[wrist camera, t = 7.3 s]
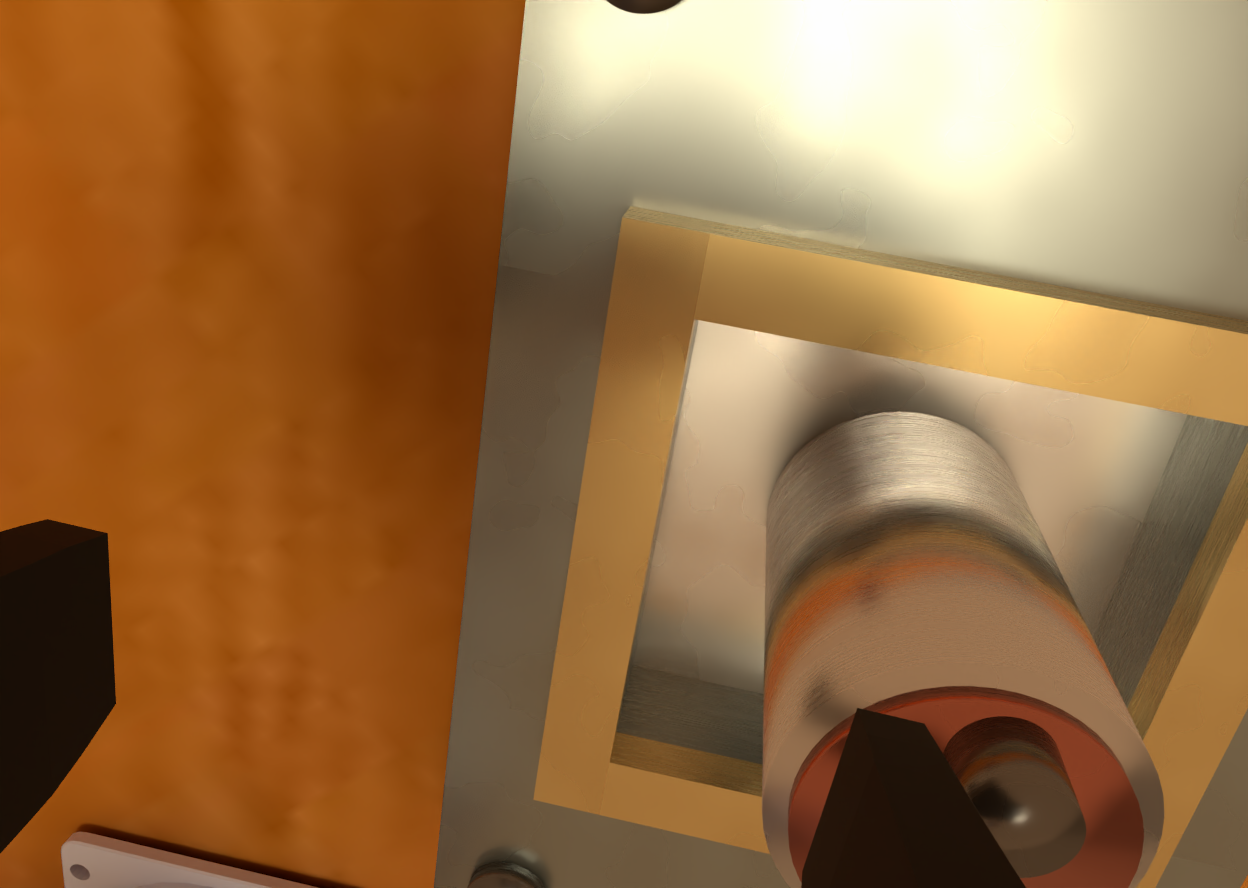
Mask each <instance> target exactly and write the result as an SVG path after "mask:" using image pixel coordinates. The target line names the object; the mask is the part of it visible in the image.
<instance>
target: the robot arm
mask: <svg viewBox="0 0 1248 888" xmlns="http://www.w3.org/2000/svg"><path fill="white" fill-rule="evenodd" d="M115 704H116V696H115V675H114V655H113V635H112V614H111V594H110V574H109V553H108V533H104V532H100V531H95V530H91V529H87V528H83V527H78V526H74V525H70V524H65V523H61V522H57V521H52V520H48V519H47V520H43V521H39V522H35V523H31V524H27V525H23V526H19V527H16V528H12V529H9V530H5V531H2V532H0V853H1V852H2V851H3V850H4V849H5V848H6V847H7V845H8V844H9V843H10V842H11V841H12V840H13V839H14V838H15V837H16V835H17V834H18V833H19V832H20V831H21V830H22V829H23V828H24V827H25V825H26V824H27V823H28V822H29V821H30V820H31V819H32V818H33V816H34V815H35V814H36V813H37V812H38V811H39V810H40V808H41V807H42V806H43V805H44V804H45V803H46V802H47V800H48V799H49V798H50V797H51V796H52V795H53V793H54V792H55V791H56V789H57V788H58V786H59V785H60V784H61V782H62V781H63V780H64V778H65V777H66V775H67V774H68V773H69V771H70V770H71V768H72V767H73V766H74V764H75V763H76V762H77V760H78V759H79V757H80V756H81V755H82V753H83V752H84V750H85V749H86V747H87V746H88V744H89V743H90V741H91V740H92V738H93V737H94V735H95V734H96V732H97V731H98V729H99V728H100V727H101V725H102V724H103V722H104V721H105V719H106V718H107V716H108V715H109V713H110V712H111V710H112V709H113V707H114V706H115ZM61 858H62V867H63V877H64V886H65V888H318V887H314V886H310V885H306V884H301V883H297V882H293V881H289V880H285V879H281V878H276V877H272V876H268V875H264V874H260V873H256V872H251V871H247V870H243V869H239V868H235V867H231V866H226V865H222V864H218V863H214V862H210V861H205V860H201V859H197V858H193V857H189V856H185V855H180V854H176V853H172V852H168V851H164V850H160V849H155V848H151V847H147V846H143V845H139V844H134V843H130V842H126V841H122V840H118V839H114V838H109V837H105V836H101V835H97V834H93V833H89V832H76V833H73V834H72V835H71V836H70V837H69V838H68V839H67V841H66V842H65V843H64V844H63V845H62V847H61ZM801 888H1026V886H1025V885H1024V883H1023V882H1022V880H1021V879H1020V877H1019V876H1018V874H1017V873H1016V871H1015V870H1014V868H1013V866H1012V865H1011V863H1010V862H1009V860H1008V859H1007V857H1006V855H1005V854H1004V852H1003V851H1002V849H1001V848H1000V846H999V844H998V843H997V841H996V839H995V838H994V836H993V835H992V833H991V831H990V830H989V828H988V827H987V825H986V823H985V822H984V820H983V818H982V817H981V815H980V814H979V812H978V810H977V809H976V807H975V805H974V804H973V802H972V801H971V799H970V797H969V796H968V794H967V792H966V791H965V789H964V787H963V786H962V784H961V782H960V781H959V779H958V777H957V776H956V774H955V772H954V771H953V769H952V768H951V766H950V764H949V763H948V761H947V759H946V758H945V756H944V754H943V753H942V751H941V750H940V748H939V746H938V745H937V743H936V742H935V740H934V738H933V737H932V735H931V733H930V732H929V730H928V729H927V727H926V725H925V724H924V723H920V722H916V721H912V720H908V719H903V718H899V717H895V716H890V715H886V714H882V713H878V712H873V711H869V710H865V709H860V708H857V710H856V713H855V716H854V719H853V722H852V725H851V728H850V731H849V734H848V737H847V740H846V743H845V746H844V749H843V752H842V755H841V757H840V760H839V763H838V766H837V769H836V772H835V775H834V778H833V781H832V784H831V787H830V790H829V793H828V796H827V799H826V802H825V805H824V808H823V811H822V814H821V817H820V820H819V823H818V826H817V829H816V832H815V835H814V838H813V841H812V844H811V847H810V850H809V853H808V856H807V859H806V862H805V864H804V867H803V870H802V885H801Z"/></svg>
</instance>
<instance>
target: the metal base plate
mask: <svg viewBox="0 0 1248 888" xmlns="http://www.w3.org/2000/svg"><path fill="white" fill-rule="evenodd" d="M898 411H902V412H917V413H923V414H928V415H934V416H937V417H941V418H944V419H947V420H950V421H953V422H955V423H957V424H959V425H961V426H963V427H966V428H968V429H969V430H971V431H972V432H974V433H975V434H977V435H979V436H980V437H982V438H983V439H984V440H985V441H986V442H987V443H989V444H990V445H991V446H992V447H993V448H994V449H995V450H996V451H997V452H998V453H999V454H1000V456H1001V457H1002V458H1003V459H1004V460H1005V462H1006V463H1007V465H1008V467H1009V468H1010V470H1011V471H1012V473H1013V475H1014V477H1015V479H1016V481H1017V483H1018V485H1019V487H1020V489H1021V491H1022V493H1023V495H1024V497H1025V500H1026V502H1027V504H1028V506H1029V508H1030V510H1031V512H1032V514H1033V516H1034V518H1035V520H1036V522H1037V524H1038V526H1039V528H1040V530H1041V532H1042V534H1043V537H1044V539H1045V541H1046V543H1047V545H1048V547H1049V549H1050V551H1051V553H1052V555H1053V557H1054V559H1055V561H1056V563H1057V565H1058V567H1059V569H1060V572H1061V574H1062V576H1063V578H1064V580H1065V582H1066V584H1067V586H1068V588H1069V590H1070V592H1071V594H1072V596H1073V598H1074V600H1075V602H1076V604H1077V607H1078V609H1079V611H1080V613H1081V615H1082V617H1083V619H1084V621H1085V623H1086V625H1087V627H1088V629H1089V631H1090V633H1091V635H1092V637H1093V639H1094V642H1095V644H1096V646H1097V648H1098V650H1099V652H1100V654H1101V656H1102V658H1103V660H1104V662H1105V664H1106V666H1107V668H1108V670H1109V672H1110V674H1111V677H1112V679H1113V681H1114V683H1115V685H1116V687H1117V689H1118V691H1119V693H1120V695H1121V697H1122V699H1123V701H1124V703H1125V705H1126V707H1127V709H1128V712H1129V714H1130V716H1131V718H1132V720H1133V722H1134V724H1135V726H1136V728H1137V730H1138V732H1139V734H1140V736H1141V738H1142V740H1143V742H1144V744H1145V746H1146V749H1147V751H1148V753H1149V755H1150V757H1151V759H1152V761H1153V764H1154V766H1155V768H1156V770H1157V773H1158V775H1159V779H1160V783H1161V787H1162V791H1163V798H1164V823H1163V831H1162V836H1161V840H1160V843H1159V846H1158V849H1157V853H1156V855H1155V857H1154V859H1153V861H1152V863H1151V865H1150V867H1149V869H1148V871H1147V873H1146V874H1145V876H1144V877H1143V878H1142V880H1141V881H1140V883H1139V884H1138V885H1137V887H1136V888H1240V887H1241V885H1242V884H1243V882H1244V880H1245V878H1246V876H1247V875H1248V0H526V3H525V12H524V22H523V32H522V41H521V51H520V61H519V70H518V80H517V90H516V99H515V109H514V119H513V128H512V138H511V148H510V157H509V167H508V177H507V186H506V196H505V206H504V215H503V225H502V235H501V244H500V254H499V264H498V273H497V283H496V292H495V302H494V312H493V321H492V331H491V341H490V350H489V360H488V370H487V379H486V389H485V399H484V408H483V418H482V428H481V437H480V447H479V457H478V466H477V476H476V486H475V495H474V505H473V515H472V524H471V534H470V544H469V553H468V563H467V573H466V582H465V592H464V602H463V611H462V621H461V631H460V640H459V650H458V660H457V669H456V679H455V689H454V698H453V708H452V718H451V727H450V737H449V747H448V756H447V766H446V776H445V785H444V795H443V804H442V814H441V824H440V833H439V843H438V853H437V862H436V872H435V882H434V888H790V887H789V885H788V884H787V883H786V882H785V880H784V878H783V877H782V875H781V874H780V872H779V870H778V869H777V867H776V866H775V863H774V861H773V859H772V856H771V854H770V852H769V849H768V846H767V842H766V838H765V834H764V830H763V819H762V767H763V701H764V634H765V567H766V521H767V510H768V506H769V501H770V497H771V494H772V492H773V489H774V487H775V484H776V482H777V480H778V479H779V477H780V475H781V473H782V472H783V470H784V468H785V467H786V466H787V465H788V463H789V462H790V461H791V459H792V458H793V457H794V456H795V455H796V454H797V453H798V452H799V451H800V450H801V449H802V448H803V447H804V446H805V445H806V444H808V443H809V442H810V441H812V440H813V439H814V438H815V437H817V436H818V435H820V434H822V433H823V432H825V431H827V430H828V429H830V428H832V427H834V426H836V425H839V424H841V423H843V422H846V421H848V420H851V419H854V418H858V417H861V416H865V415H870V414H876V413H882V412H898Z"/></svg>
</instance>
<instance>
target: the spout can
mask: <svg viewBox="0 0 1248 888" xmlns="http://www.w3.org/2000/svg"><path fill="white" fill-rule="evenodd" d="M857 708H860V709H865V710H869V711H873V712H878V713H882V714H886V715H890V716H895V717H899V718H903V719H908V720H912V721H916V722H920V723H924V724H925V725H926V727H927V729H928V730H929V732H930V733H931V735H932V737H933V738H934V740H935V742H936V743H937V745H938V746H939V748H940V750H941V751H942V753H943V754H944V756H945V758H946V759H947V761H948V763H949V764H950V766H951V768H952V769H953V771H954V772H955V774H956V776H957V777H958V779H959V781H960V782H961V784H962V786H963V787H964V789H965V791H966V792H967V794H968V796H969V797H970V799H971V801H972V802H973V804H974V805H975V807H976V809H977V810H978V812H979V814H980V815H981V817H982V818H983V820H984V822H985V823H986V825H987V827H988V828H989V830H990V831H991V833H992V835H993V836H994V838H995V839H996V841H997V843H998V844H999V846H1000V848H1001V849H1002V851H1003V852H1004V854H1005V855H1006V857H1007V859H1008V860H1009V862H1010V863H1011V865H1012V866H1013V868H1014V870H1015V871H1016V873H1017V874H1018V876H1019V877H1020V879H1021V880H1022V882H1023V883H1024V885H1025V886H1026V888H1136V887H1137V885H1138V884H1139V883H1140V881H1141V880H1142V878H1143V877H1144V876H1145V874H1146V873H1147V871H1148V869H1149V867H1150V865H1151V863H1152V861H1153V859H1154V857H1155V855H1156V853H1157V849H1158V846H1159V843H1160V840H1161V836H1162V831H1163V823H1164V798H1163V791H1162V787H1161V783H1160V779H1159V775H1158V773H1157V770H1156V768H1155V766H1154V764H1153V761H1152V759H1151V757H1150V755H1149V753H1148V751H1147V749H1146V746H1145V744H1144V742H1143V740H1142V738H1141V736H1140V734H1139V732H1138V730H1137V728H1136V726H1135V724H1134V722H1133V720H1132V718H1131V716H1130V714H1129V712H1128V709H1127V707H1126V705H1125V703H1124V701H1123V699H1122V697H1121V695H1120V693H1119V691H1118V689H1117V687H1116V685H1115V683H1114V681H1113V679H1112V677H1111V674H1110V672H1109V670H1108V668H1107V666H1106V664H1105V662H1104V660H1103V658H1102V656H1101V654H1100V652H1099V650H1098V648H1097V646H1096V644H1095V642H1094V639H1093V637H1092V635H1091V633H1090V631H1089V629H1088V627H1087V625H1086V623H1085V621H1084V619H1083V617H1082V615H1081V613H1080V611H1079V609H1078V607H1077V604H1076V602H1075V600H1074V598H1073V596H1072V594H1071V592H1070V590H1069V588H1068V586H1067V584H1066V582H1065V580H1064V578H1063V576H1062V574H1061V572H1060V569H1059V567H1058V565H1057V563H1056V561H1055V559H1054V557H1053V555H1052V553H1051V551H1050V549H1049V547H1048V545H1047V543H1046V541H1045V539H1044V537H1043V534H1042V532H1041V530H1040V528H1039V526H1038V524H1037V522H1036V520H1035V518H1034V516H1033V514H1032V512H1031V510H1030V508H1029V506H1028V504H1027V502H1026V500H1025V497H1024V495H1023V493H1022V491H1021V489H1020V487H1019V485H1018V483H1017V481H1016V479H1015V477H1014V475H1013V473H1012V471H1011V470H1010V468H1009V467H1008V465H1007V463H1006V462H1005V460H1004V459H1003V458H1002V457H1001V456H1000V454H999V453H998V452H997V451H996V450H995V449H994V448H993V447H992V446H991V445H990V444H989V443H987V442H986V441H985V440H984V439H983V438H982V437H980V436H979V435H977V434H975V433H974V432H972V431H971V430H969V429H968V428H966V427H963V426H961V425H959V424H957V423H955V422H953V421H950V420H947V419H944V418H941V417H937V416H934V415H928V414H923V413H917V412H902V411H898V412H882V413H876V414H870V415H865V416H861V417H858V418H854V419H851V420H848V421H846V422H843V423H841V424H839V425H836V426H834V427H832V428H830V429H828V430H827V431H825V432H823V433H822V434H820V435H818V436H817V437H815V438H814V439H813V440H812V441H810V442H809V443H808V444H806V445H805V446H804V447H803V448H802V449H801V450H800V451H799V452H798V453H797V454H796V455H795V456H794V457H793V458H792V459H791V461H790V462H789V463H788V465H787V466H786V467H785V468H784V470H783V472H782V473H781V475H780V477H779V479H778V480H777V482H776V484H775V487H774V489H773V492H772V494H771V497H770V501H769V506H768V510H767V521H766V567H765V634H764V701H763V767H762V819H763V830H764V834H765V838H766V842H767V846H768V849H769V852H770V854H771V856H772V859H773V861H774V863H775V866H776V867H777V869H778V870H779V872H780V874H781V875H782V877H783V878H784V880H785V882H786V883H787V884H788V885H789V887H790V888H801V885H802V870H803V867H804V864H805V862H806V859H807V856H808V853H809V850H810V847H811V844H812V841H813V838H814V835H815V832H816V829H817V826H818V823H819V820H820V817H821V814H822V811H823V808H824V805H825V802H826V799H827V796H828V793H829V790H830V787H831V784H832V781H833V778H834V775H835V772H836V769H837V766H838V763H839V760H840V757H841V755H842V752H843V749H844V746H845V743H846V740H847V737H848V734H849V731H850V728H851V725H852V722H853V719H854V716H855V713H856V710H857Z"/></svg>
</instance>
